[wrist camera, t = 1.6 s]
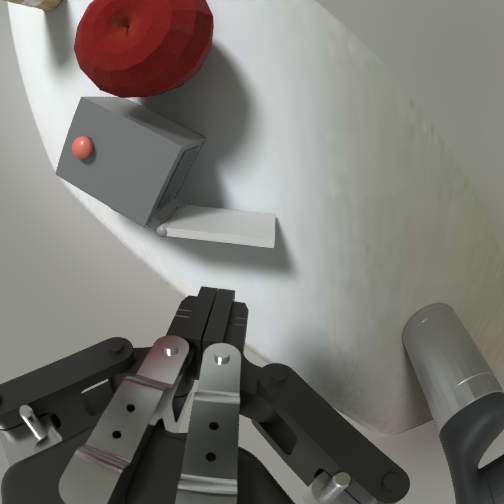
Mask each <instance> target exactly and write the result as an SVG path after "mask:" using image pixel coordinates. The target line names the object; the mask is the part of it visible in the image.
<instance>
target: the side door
mask: <svg viewBox="0 0 504 504" xmlns="http://www.w3.org/2000/svg"><path fill="white" fill-rule="evenodd" d="M156 232H157V234H158V235H159V236H160V237H164V236H165V235H166V236H171V237H180V238H189V239H198V240H207V241H216V242H224V243H233V244H242V245H250V246H259V247H268V248H274V243H275V214H268V213H259V212H250V211H241V210H231V209H222V208H212V207H201V206H190V205H186V204H181V205H180V206H179V207H178V208H177V209H176V210H175V211H174V212H173V213H172V214H171V215H170V216H169V217H168V218H167V219H166V220H165V221H164V222H163V223H162V224H161V225H160V226H159V227H158V228H157V230H156Z"/></svg>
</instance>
